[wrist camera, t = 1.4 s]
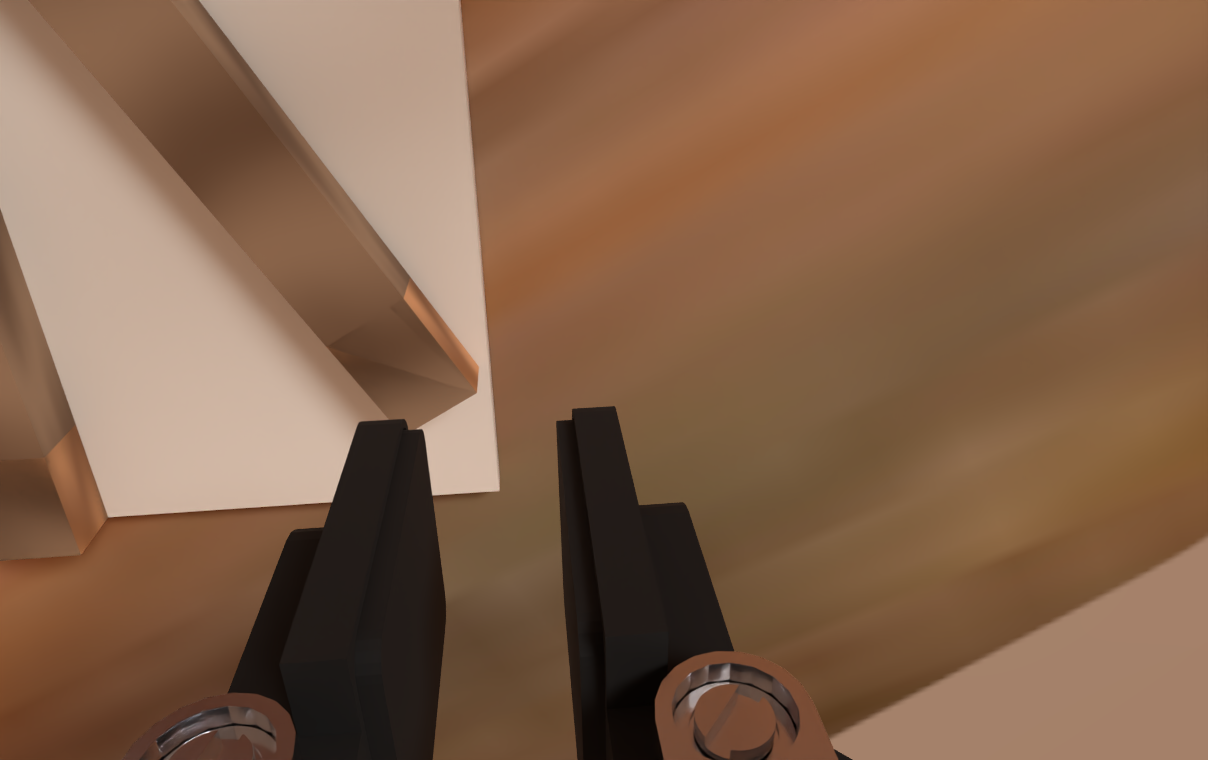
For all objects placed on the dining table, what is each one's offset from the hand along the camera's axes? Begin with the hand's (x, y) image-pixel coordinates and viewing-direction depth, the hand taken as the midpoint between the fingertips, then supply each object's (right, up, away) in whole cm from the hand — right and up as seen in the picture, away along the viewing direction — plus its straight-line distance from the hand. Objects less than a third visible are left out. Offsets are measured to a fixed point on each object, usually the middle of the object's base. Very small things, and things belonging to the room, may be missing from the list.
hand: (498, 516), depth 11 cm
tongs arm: (-10, +10, +14) cm, 20 cm away
